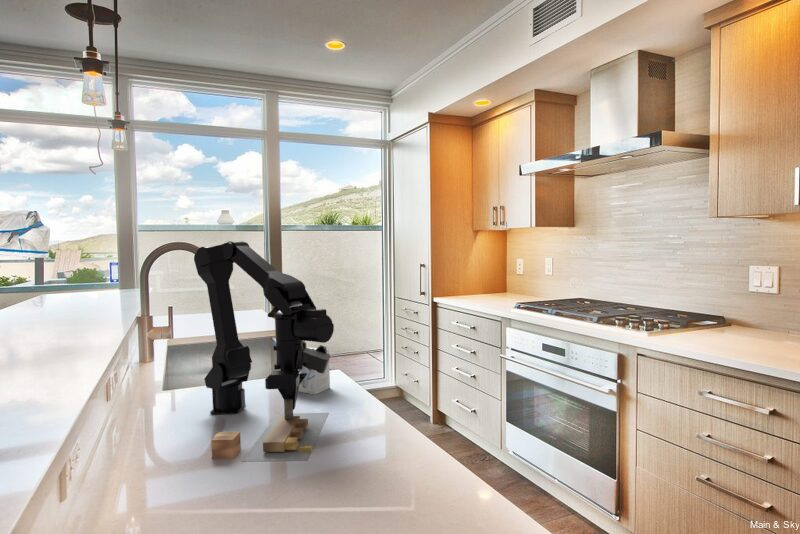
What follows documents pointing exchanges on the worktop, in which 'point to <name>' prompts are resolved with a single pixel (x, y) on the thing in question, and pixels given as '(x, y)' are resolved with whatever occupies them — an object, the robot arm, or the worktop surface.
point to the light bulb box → (315, 380)
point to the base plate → (307, 439)
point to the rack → (285, 431)
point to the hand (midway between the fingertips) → (292, 409)
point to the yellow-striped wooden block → (226, 445)
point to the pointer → (305, 449)
